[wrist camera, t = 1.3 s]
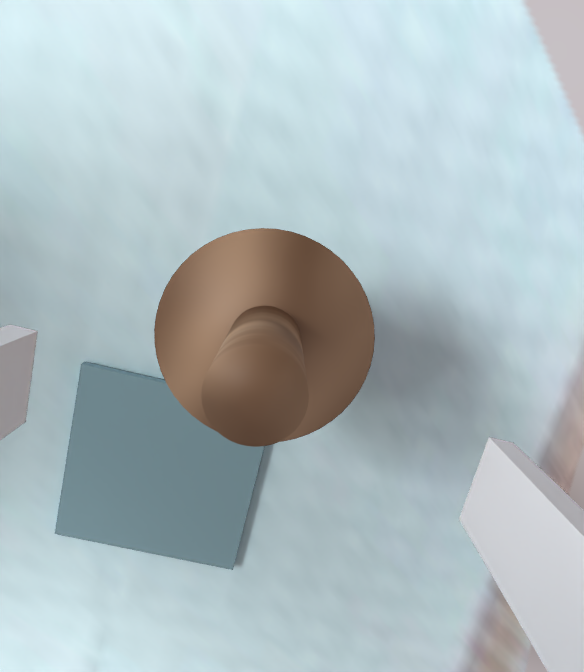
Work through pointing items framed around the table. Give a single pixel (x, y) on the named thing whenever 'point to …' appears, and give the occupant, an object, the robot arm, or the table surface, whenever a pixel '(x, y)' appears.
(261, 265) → the lid
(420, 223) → the table surface
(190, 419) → the mat
